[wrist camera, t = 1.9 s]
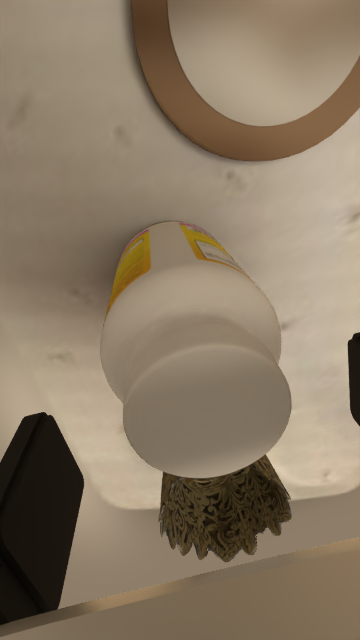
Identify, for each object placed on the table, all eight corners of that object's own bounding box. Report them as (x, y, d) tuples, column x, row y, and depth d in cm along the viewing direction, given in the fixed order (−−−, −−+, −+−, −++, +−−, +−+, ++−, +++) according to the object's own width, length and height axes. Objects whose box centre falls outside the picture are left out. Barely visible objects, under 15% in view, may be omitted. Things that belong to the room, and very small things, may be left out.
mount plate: (93, -132, 13) (87, -170, 12) (393, -218, 13) (425, -268, 12) (168, 185, 19) (171, 188, 17) (384, 128, 18) (406, 126, 17)
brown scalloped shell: (207, 362, 24) (234, 451, 17) (271, 417, 26) (318, 514, 19) (135, 425, 26) (130, 530, 18) (201, 470, 28) (220, 577, 21)
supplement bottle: (127, 330, 22) (107, 517, 11) (108, 226, 19) (50, 327, 8) (229, 316, 22) (318, 485, 11) (224, 212, 20) (339, 289, 8)
